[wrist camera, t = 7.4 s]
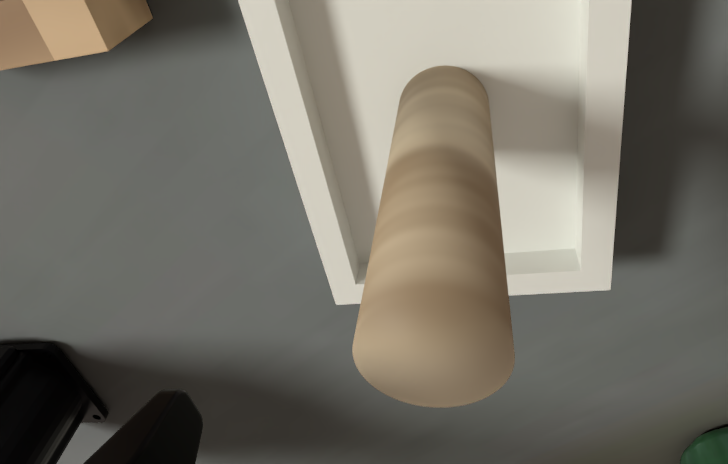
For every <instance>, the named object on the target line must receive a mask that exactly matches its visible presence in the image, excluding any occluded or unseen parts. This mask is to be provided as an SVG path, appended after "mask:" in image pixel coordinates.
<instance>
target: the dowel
mask: <svg viewBox="0 0 728 464" xmlns="http://www.w3.org/2000/svg"><path fill="white" fill-rule="evenodd" d="M353 358H354V362H355V364H356V366H357V368H358V370H359V372H360V373H361V375H362V376H363V377H364V378H365V379H366V380H367V381H368V382H369V383H370V384H371V385H372V386H373V387H375V388H376V389H377V390H379V391H381V392H382V393H384V394H386V395H388V396H390V397H392V398H394V399H397V400H399V401H402V402H405V403H409V404H413V405H418V406H424V407H439V408H443V407H455V406H462V405H466V404H471V403H474V402H477V401H479V400H482V399H484V398H486V397H488V396H490V395H491V394H493V393H495V392H496V391H497V390H498V389H500V388H501V387H502V386H503V385H504V384H505V383H506V381H507V380H508V378H509V377H510V375H511V373H512V371H513V367H514V362H515V354H514V344H513V334H512V325H511V315H510V305H509V295H508V285H507V275H506V266H505V256H504V246H503V236H502V226H501V216H500V207H499V197H498V187H497V177H496V167H495V157H494V148H493V138H492V128H491V118H490V108H489V100H488V95H487V92H486V90H485V88H484V86H483V85H482V83H481V82H480V81H479V80H478V78H476V77H475V76H474V75H473V74H471V73H470V72H468V71H466V70H464V69H462V68H459V67H455V66H445V65H444V66H435V67H431V68H428V69H426V70H424V71H422V72H420V73H418V74H417V75H415V76H414V77H413V78H412V79H411V80H410V81H409V82H408V83H407V85H406V86H405V88H404V90H403V92H402V94H401V97H400V101H399V106H398V112H397V117H396V122H395V127H394V132H393V138H392V143H391V148H390V153H389V159H388V164H387V169H386V174H385V179H384V185H383V190H382V195H381V200H380V206H379V211H378V216H377V221H376V227H375V232H374V237H373V242H372V247H371V253H370V258H369V263H368V268H367V274H366V279H365V284H364V289H363V294H362V300H361V305H360V310H359V315H358V321H357V326H356V331H355V336H354V342H353Z"/></svg>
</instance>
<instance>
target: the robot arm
mask: <svg viewBox="0 0 728 464" xmlns="http://www.w3.org/2000/svg"><path fill="white" fill-rule="evenodd" d="M107 416H108V411H107V410H106V409H105V407H104V406H103V405H102V404H101V402H100V401H99V400H98V398H97V397H96V396H95V394H94V393H93V392H92V391H91V389H90V388H89V387H88V385H87V384H86V383H85V382H84V380H83V379H82V378H81V376H80V375H79V374H78V373H77V371H76V370H75V369H74V367H73V366H72V365H71V363H70V362H69V361H68V360H67V358H66V357H65V356H64V354H63V353H62V352H61V351H60V349H59V348H58V347H57V346H55V345H53V344H50V343H34V344H11V345H0V464H56V463H57V462H58V460H59V458H60V457H61V455H62V453H63V452H64V450H65V448H66V447H67V445H68V443H69V442H70V440H71V438H72V437H73V435H74V433H75V432H76V430H77V428H78V427H79V425H80V423H81V422H104V421H105V420H106V418H107ZM202 427H203V422H202V417H201V414H200V412H199V411H198V409H197V408H196V406H195V404H194V403H193V401H192V400H191V398H190V396H189V395H188V393H187V392H186V391H185V390H183V389H165V390H162V391H160V392H158V393H157V394H156V395H155V396H154V397H153V398H152V399H151V400H150V401H149V402H148V403H147V404H145V405H144V406H143V407H142V408H141V409H140V410H139V411H138V412H137V413H136V414H135V415H134V416H133V417H132V418H131V419H130V420H129V421H128V422H127V423H126V424H124V425H123V426H122V427H121V428H120V429H119V430H118V431H117V432H116V433H115V434H114V435H113V436H112V437H111V438H110V439H109V440H108V441H107V442H106V443H105V444H103V445H102V446H101V447H100V448H99V449H98V450H97V451H96V452H95V453H94V454H93V455H92V456H91V457H90V458H89V459H88V460H87V461H86V462H85V463H84V464H195V462H196V458H197V453H198V448H199V443H200V438H201V433H202Z"/></svg>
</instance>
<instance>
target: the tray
mask: <svg viewBox="0 0 728 464" xmlns="http://www.w3.org/2000/svg"><path fill="white" fill-rule="evenodd" d="M238 2H239V5H240V8H241V11H242V14H243V17H244V21H245V24H246V27H247V30H248V33H249V36H250V39H251V42H252V45H253V48H254V52H255V55H256V58H257V61H258V64H259V67H260V70H261V73H262V76H263V79H264V83H265V86H266V89H267V92H268V95H269V98H270V101H271V104H272V107H273V110H274V114H275V117H276V120H277V123H278V126H279V129H280V132H281V135H282V138H283V141H284V145H285V148H286V151H287V154H288V157H289V160H290V163H291V166H292V169H293V173H294V176H295V179H296V182H297V185H298V188H299V191H300V194H301V197H302V200H303V204H304V207H305V210H306V213H307V216H308V219H309V222H310V225H311V228H312V231H313V235H314V238H315V241H316V244H317V247H318V250H319V253H320V256H321V259H322V262H323V266H324V269H325V272H326V275H327V278H328V281H329V284H330V287H331V290H332V293H333V297H334V300H335V303H336V305H343V304H361V300H362V294H363V289H364V284H365V279H366V274H367V268H368V263H369V258H370V253H371V247H372V242H373V237H374V232H375V227H376V221H377V216H378V211H379V206H380V200H381V195H382V190H383V185H384V179H385V174H386V169H387V164H388V159H389V153H390V148H391V143H392V138H393V132H394V127H395V122H396V117H397V112H398V106H399V101H400V97H401V94H402V92H403V90H404V88H405V86H406V85H407V83H408V82H409V81H410V80H411V79H412V78H413V77H414V76H415V75H417V74H418V73H420V72H422V71H424V70H426V69H428V68H431V67H435V66H444V65H445V66H455V67H459V68H462V69H464V70H466V71H468V72H470V73H471V74H473V75H474V76H475V77H476V78H478V80H479V81H480V82H481V83H482V85H483V86H484V88H485V90H486V92H487V95H488V100H489V108H490V118H491V128H492V138H493V148H494V157H495V167H496V177H497V187H498V197H499V207H500V216H501V226H502V236H503V246H504V256H505V266H506V275H507V285H508V295H527V294H545V293H564V292H582V291H601V290H610V288H611V275H612V261H613V248H614V234H615V220H616V207H617V193H618V179H619V166H620V152H621V139H622V125H623V111H624V98H625V84H626V71H627V57H628V43H629V30H630V16H631V2H632V0H238Z"/></svg>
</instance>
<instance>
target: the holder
mask: <svg viewBox="0 0 728 464" xmlns="http://www.w3.org/2000/svg"><path fill="white" fill-rule="evenodd" d="M151 19H153V17H152V14H151V12H150V9H149V7H148V4H147V2H146V0H0V70H5V69H11V68H16V67H22V66H28V65H33V64H39V63H44V62H50V61H56V60H61V59H67V58H73V57H78V56H84V55H90V54H95V53H101V52H106V51H109V50H111V49H112V48H113V47H115V46H116V45H117V44H119V43H120V42H122V41H123V40H124V39H126V38H127V37H128V36H130V35H131V34H132V33H134V32H135V31H136V30H138V29H139V28H141V27H142V26H143V25H145V24H146V23H147V22H149V21H150V20H151Z"/></svg>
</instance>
